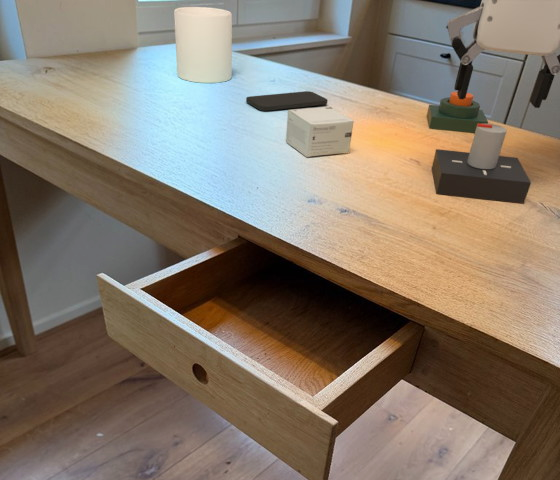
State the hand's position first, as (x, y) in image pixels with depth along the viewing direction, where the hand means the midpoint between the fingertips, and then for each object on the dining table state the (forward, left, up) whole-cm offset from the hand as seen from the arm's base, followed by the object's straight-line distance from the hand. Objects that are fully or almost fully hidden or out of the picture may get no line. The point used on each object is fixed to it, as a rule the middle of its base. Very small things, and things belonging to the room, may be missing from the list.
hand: (497, 101), depth 75 cm
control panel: (0, 0, -11) cm, 11 cm away
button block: (0, -30, -11) cm, 32 cm away
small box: (+24, -9, -12) cm, 28 cm away
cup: (+52, -48, -12) cm, 72 cm away
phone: (+32, -33, -11) cm, 47 cm away
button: (0, -30, -8) cm, 31 cm away
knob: (0, 0, -8) cm, 8 cm away
